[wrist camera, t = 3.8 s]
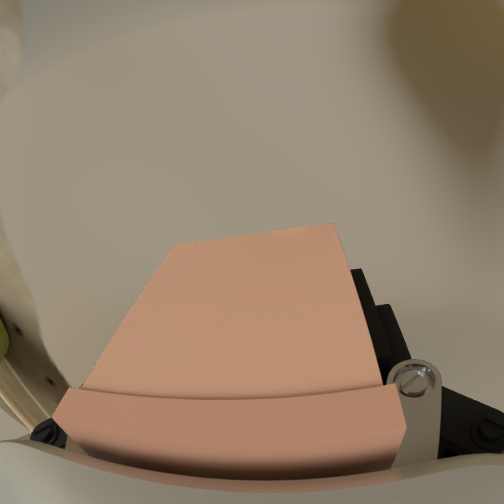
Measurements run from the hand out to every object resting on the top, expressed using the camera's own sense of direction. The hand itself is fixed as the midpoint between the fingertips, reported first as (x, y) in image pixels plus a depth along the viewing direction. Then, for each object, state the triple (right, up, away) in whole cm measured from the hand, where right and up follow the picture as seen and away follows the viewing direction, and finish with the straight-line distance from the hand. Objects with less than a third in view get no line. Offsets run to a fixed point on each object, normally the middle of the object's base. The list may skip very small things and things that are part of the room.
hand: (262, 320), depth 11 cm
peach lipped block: (0, 0, +1) cm, 1 cm away
